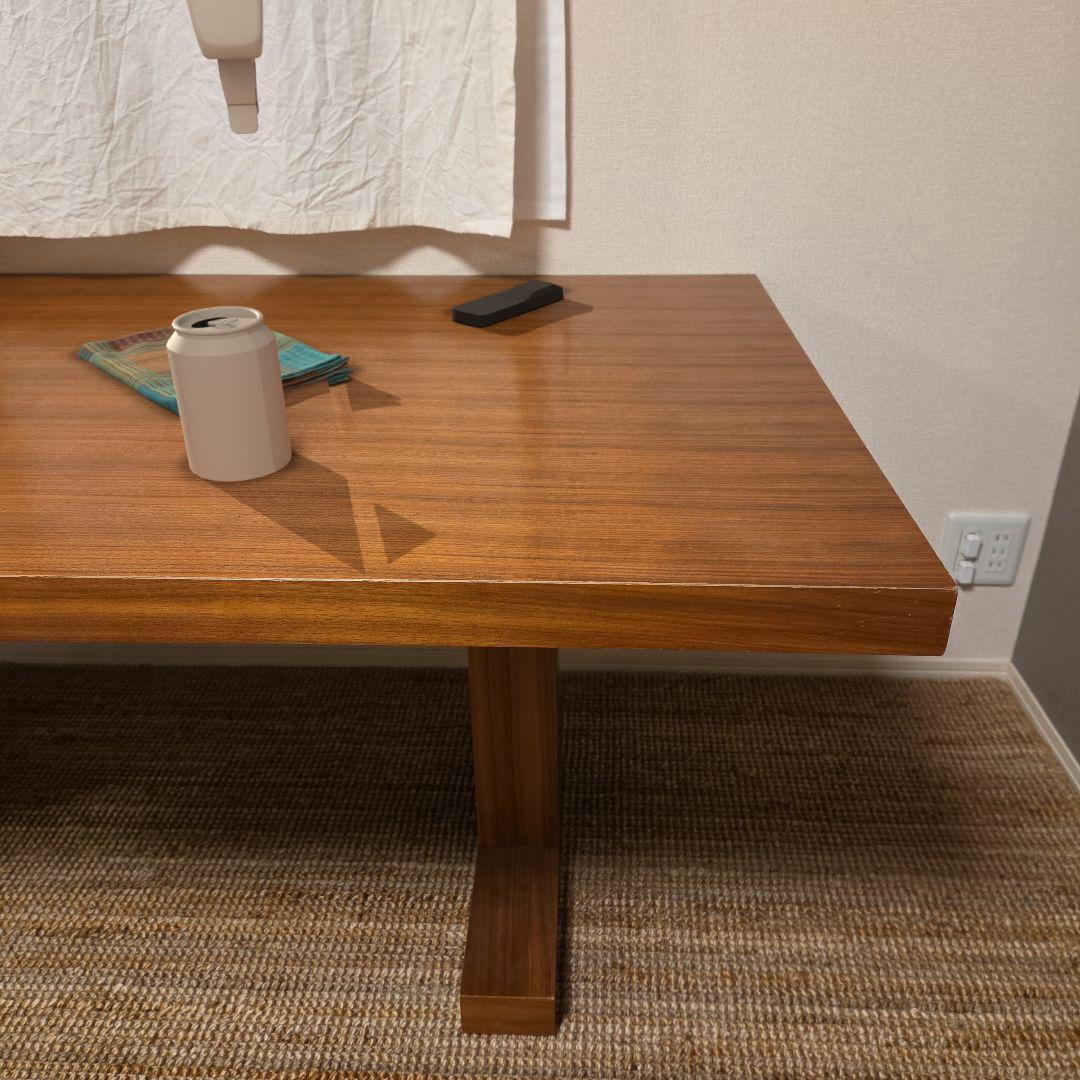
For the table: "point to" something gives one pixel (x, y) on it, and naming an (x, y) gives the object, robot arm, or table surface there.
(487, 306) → the remote control
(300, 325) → the table surface
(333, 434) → the table surface
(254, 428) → the can
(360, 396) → the table surface
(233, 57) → the robot arm
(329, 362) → the dish towel
